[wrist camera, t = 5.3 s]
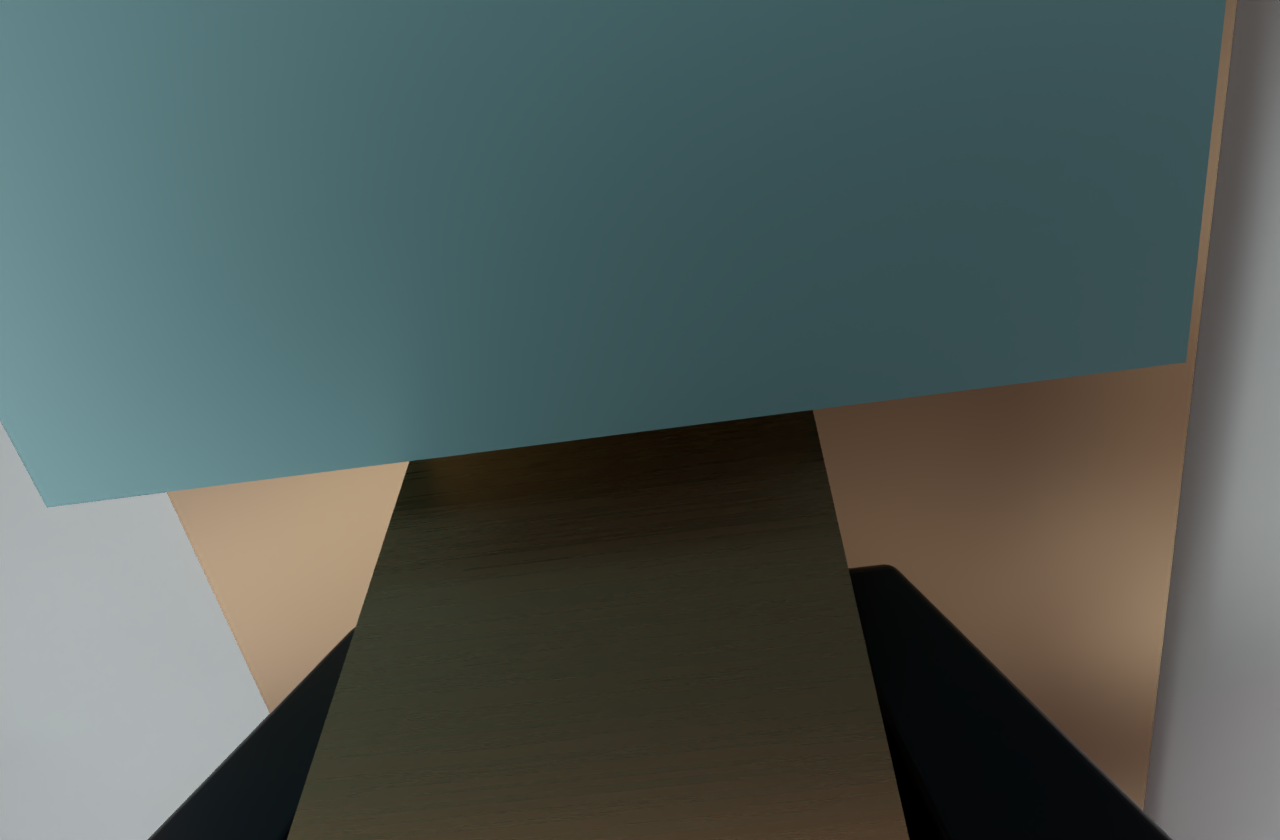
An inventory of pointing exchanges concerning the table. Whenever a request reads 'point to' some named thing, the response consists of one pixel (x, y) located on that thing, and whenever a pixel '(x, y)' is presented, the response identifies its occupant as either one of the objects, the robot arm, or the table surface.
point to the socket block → (570, 218)
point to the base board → (855, 530)
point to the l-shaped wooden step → (610, 651)
